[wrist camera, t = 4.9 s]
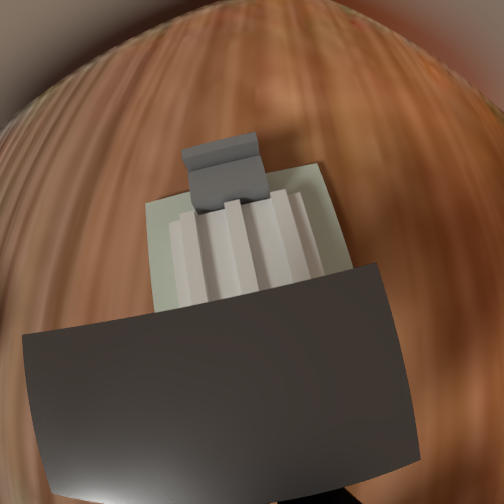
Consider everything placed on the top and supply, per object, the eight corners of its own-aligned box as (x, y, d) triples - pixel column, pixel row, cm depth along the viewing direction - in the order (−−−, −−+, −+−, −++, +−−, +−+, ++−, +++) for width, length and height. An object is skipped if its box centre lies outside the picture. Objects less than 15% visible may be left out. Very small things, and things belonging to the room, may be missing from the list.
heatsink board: (390, 446, 17) (427, 472, 11) (195, 485, 17) (165, 522, 11) (315, 167, 25) (321, 113, 19) (149, 206, 25) (116, 162, 19)
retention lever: (308, 380, 15) (420, 460, 2) (231, 396, 15) (52, 493, 2) (300, 343, 16) (376, 262, 3) (224, 359, 16) (21, 335, 3)
